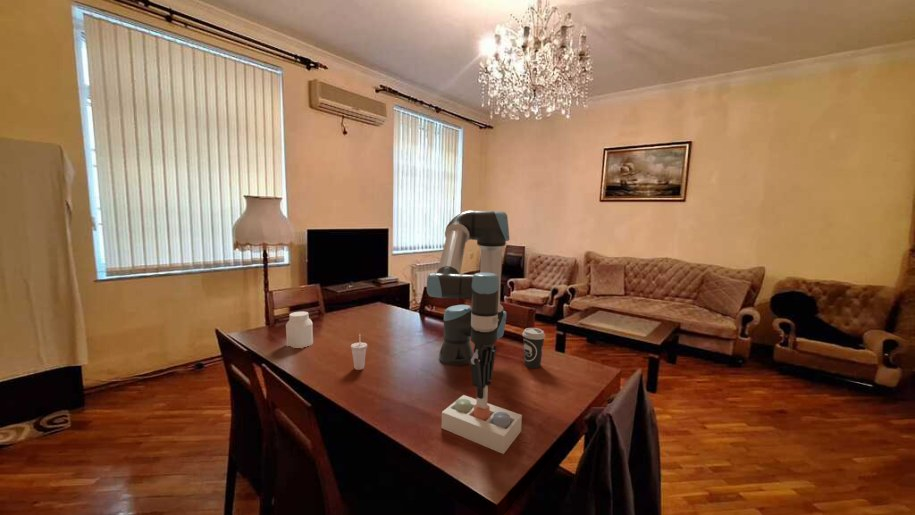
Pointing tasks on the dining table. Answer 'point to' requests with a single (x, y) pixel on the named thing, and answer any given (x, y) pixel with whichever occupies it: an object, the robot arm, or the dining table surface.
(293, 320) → the jar
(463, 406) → the button sage
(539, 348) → the coffee cup
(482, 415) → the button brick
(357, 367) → the smoothie
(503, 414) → the button slate
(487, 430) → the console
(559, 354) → the dining table surface
